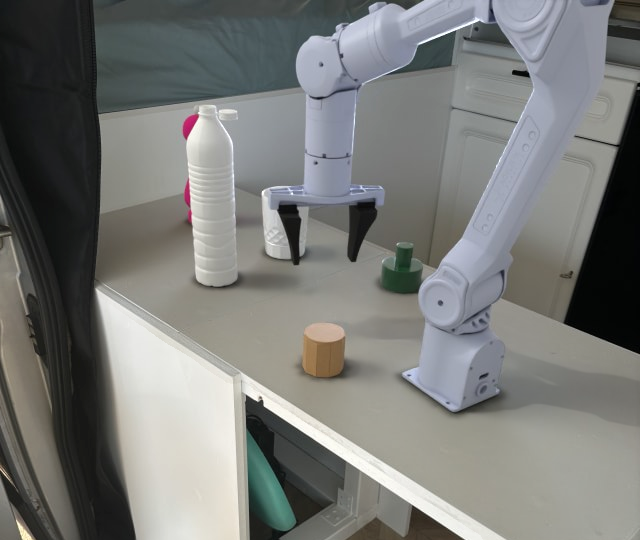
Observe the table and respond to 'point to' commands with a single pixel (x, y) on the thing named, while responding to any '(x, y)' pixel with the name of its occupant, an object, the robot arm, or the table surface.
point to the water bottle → (212, 197)
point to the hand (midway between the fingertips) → (323, 260)
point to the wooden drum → (323, 349)
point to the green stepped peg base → (401, 270)
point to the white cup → (280, 229)
